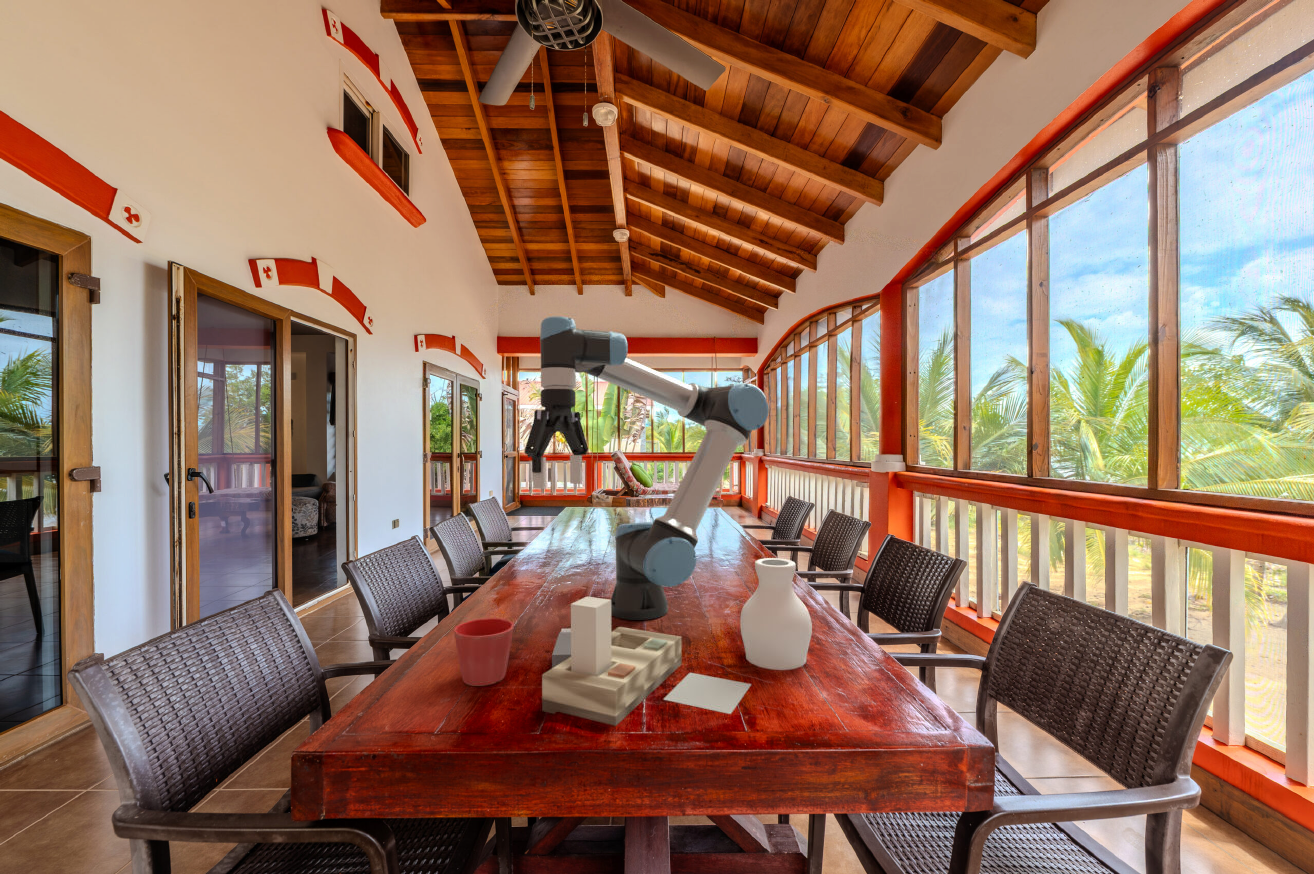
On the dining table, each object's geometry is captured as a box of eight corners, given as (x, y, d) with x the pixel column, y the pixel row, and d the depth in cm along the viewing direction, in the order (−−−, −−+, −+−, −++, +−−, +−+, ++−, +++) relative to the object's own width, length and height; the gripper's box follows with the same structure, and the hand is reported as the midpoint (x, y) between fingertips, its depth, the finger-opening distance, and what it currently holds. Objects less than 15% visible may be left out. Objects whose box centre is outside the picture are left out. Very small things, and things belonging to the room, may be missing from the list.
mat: (689, 675, 107) (689, 672, 107) (751, 687, 102) (751, 684, 102) (663, 702, 96) (663, 699, 96) (730, 717, 91) (730, 713, 91)
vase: (726, 661, 113) (725, 562, 113) (764, 642, 124) (763, 551, 124) (789, 682, 104) (788, 573, 104) (825, 659, 114) (824, 561, 114)
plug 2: (587, 680, 100) (586, 596, 100) (611, 685, 98) (611, 599, 98) (571, 692, 96) (570, 604, 96) (596, 697, 93) (596, 607, 93)
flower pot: (495, 661, 114) (495, 613, 114) (524, 677, 106) (524, 626, 106) (444, 677, 107) (444, 626, 107) (471, 696, 99) (471, 640, 99)
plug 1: (560, 651, 120) (560, 627, 120) (584, 650, 120) (584, 627, 120) (552, 681, 105) (552, 654, 105) (579, 680, 105) (579, 654, 105)
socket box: (619, 655, 117) (619, 624, 117) (681, 667, 111) (681, 634, 111) (542, 710, 93) (542, 671, 93) (615, 729, 87) (615, 687, 87)
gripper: (575, 393, 136) (576, 481, 136) (506, 385, 114) (507, 490, 114) (602, 392, 133) (602, 482, 133) (536, 383, 110) (537, 491, 110)
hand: (558, 486), depth 123 cm, fingers open, 13 cm apart
